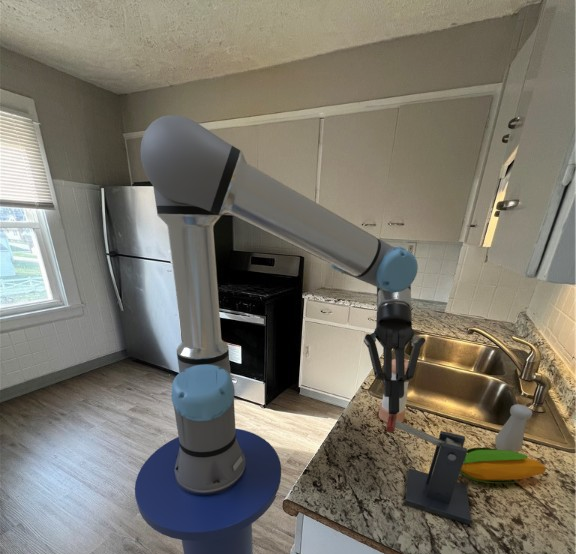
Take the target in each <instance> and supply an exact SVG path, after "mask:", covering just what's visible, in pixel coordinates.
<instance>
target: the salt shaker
mask: <svg viewBox="0 0 576 554" xmlns="http://www.w3.org/2000/svg"><path fill="white" fill-rule="evenodd" d="M509 413H510V417H509V418H508V419H507V420H506V422H505V423H504V424H503V426H502V427H501V428H500V430H499V432H498V433H497V434H496V435H495V436H494V437H495V438H494V445H495V449H496V450H505V451H513V452H517V453H519V451H520V450H522V448H523V443H524V437H525V431H526V425H527V420H530V419H531V417H532V416H533V411H532V409H531V408H530V407H528V406H526V405H523V404H520V403H519V404H518V403H517V404H513V405H511V407H510V409H509Z"/></svg>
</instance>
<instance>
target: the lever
mask: <svg viewBox="0 0 576 554" xmlns="http://www.w3.org/2000/svg"><path fill="white" fill-rule="evenodd" d="M396 418H397V414H389V418H388V422H386V427H385V431H386V432H387V433H389V434H393V433H394V432H395V430H396V428H397V429H399V430H401V431H403V432H406V433H407V434H409V435H412V436H414V437H417V438H420V439H421V440H423V441H425V442H429V443H430V444H432V445H435V446H436V445H437V446H439V447H440V445H441V442H442V443H446V444H450V445H454V446H458V447H461V443H459V442H456V441H454V440H452V439H449V438H446V439H445V441H443V440H440V439H438V438H439V437H436V436H433V435H431V434H429V433H427V432H425V431H422V430H420V429H417V428H415V427H413V426H412V425H408V424H406V423H404V422H400V421H397V420H396Z"/></svg>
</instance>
